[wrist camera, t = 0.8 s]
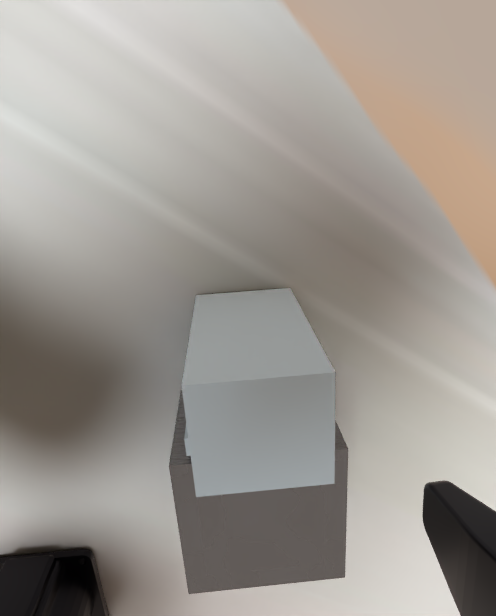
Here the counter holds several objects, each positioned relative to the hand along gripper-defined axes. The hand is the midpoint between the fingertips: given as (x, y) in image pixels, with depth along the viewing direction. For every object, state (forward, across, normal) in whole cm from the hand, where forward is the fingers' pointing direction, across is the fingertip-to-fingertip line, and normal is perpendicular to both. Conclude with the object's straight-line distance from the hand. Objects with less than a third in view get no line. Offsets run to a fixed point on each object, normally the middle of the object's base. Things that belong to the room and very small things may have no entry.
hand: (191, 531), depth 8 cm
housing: (+13, -2, +8) cm, 15 cm away
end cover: (+13, -2, +4) cm, 14 cm away
